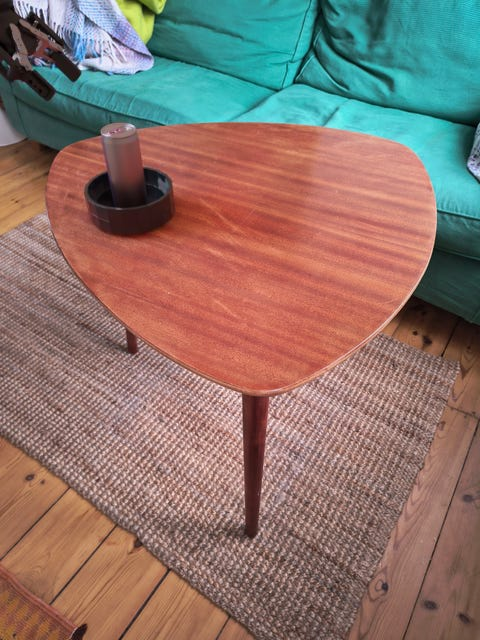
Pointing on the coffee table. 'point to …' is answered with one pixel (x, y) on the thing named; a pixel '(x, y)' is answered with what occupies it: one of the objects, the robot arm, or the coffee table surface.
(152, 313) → the coffee table surface
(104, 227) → the dark round dish
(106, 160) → the beverage can
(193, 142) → the coffee table surface
